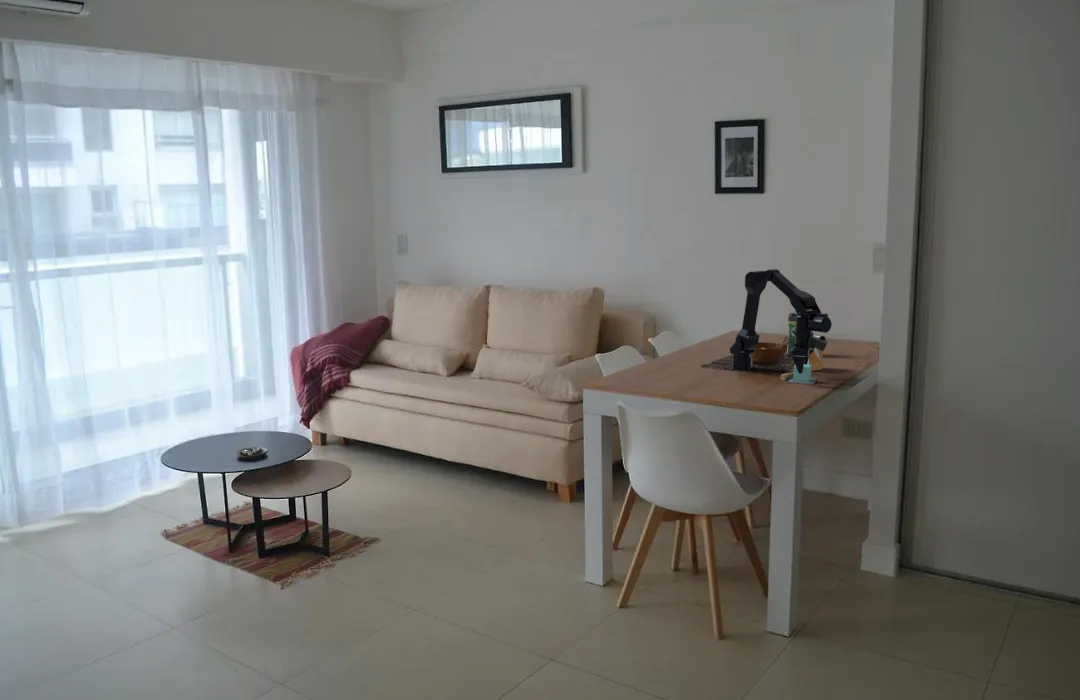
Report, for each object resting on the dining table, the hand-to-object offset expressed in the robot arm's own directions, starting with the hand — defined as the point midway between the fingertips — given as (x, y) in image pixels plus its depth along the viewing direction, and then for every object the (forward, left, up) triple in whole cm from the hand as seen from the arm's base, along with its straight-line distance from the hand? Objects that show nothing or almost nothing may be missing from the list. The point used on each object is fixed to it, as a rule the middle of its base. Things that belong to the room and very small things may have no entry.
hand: (802, 371), depth 332 cm
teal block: (0, 0, -3) cm, 3 cm away
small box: (-1, +23, -4) cm, 24 cm away
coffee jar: (-10, +53, -4) cm, 55 cm away
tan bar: (-5, +3, -4) cm, 7 cm away
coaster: (0, 0, -4) cm, 4 cm away
